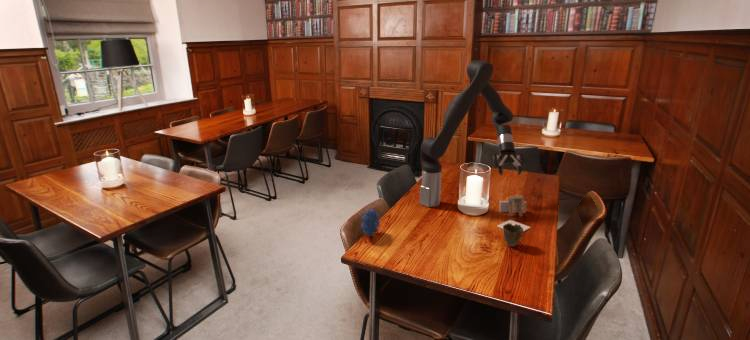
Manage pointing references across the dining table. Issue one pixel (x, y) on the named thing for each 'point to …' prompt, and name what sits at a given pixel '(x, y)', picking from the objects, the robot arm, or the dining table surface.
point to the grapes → (370, 222)
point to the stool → (519, 202)
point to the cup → (512, 234)
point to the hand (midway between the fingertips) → (510, 174)
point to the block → (505, 208)
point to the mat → (514, 225)
